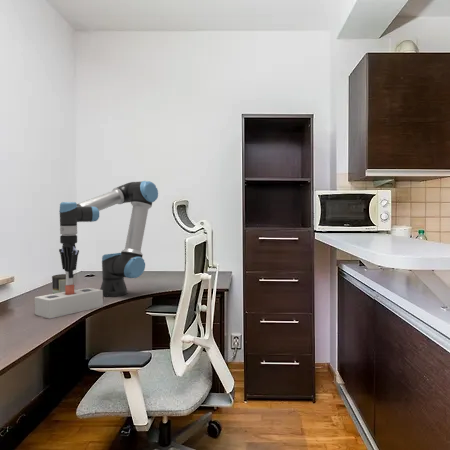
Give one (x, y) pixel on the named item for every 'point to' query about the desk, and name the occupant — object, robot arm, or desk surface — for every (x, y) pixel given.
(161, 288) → the desk surface
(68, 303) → the panel
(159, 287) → the desk surface
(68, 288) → the red plug
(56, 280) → the coffee can
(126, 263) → the robot arm
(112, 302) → the desk surface
